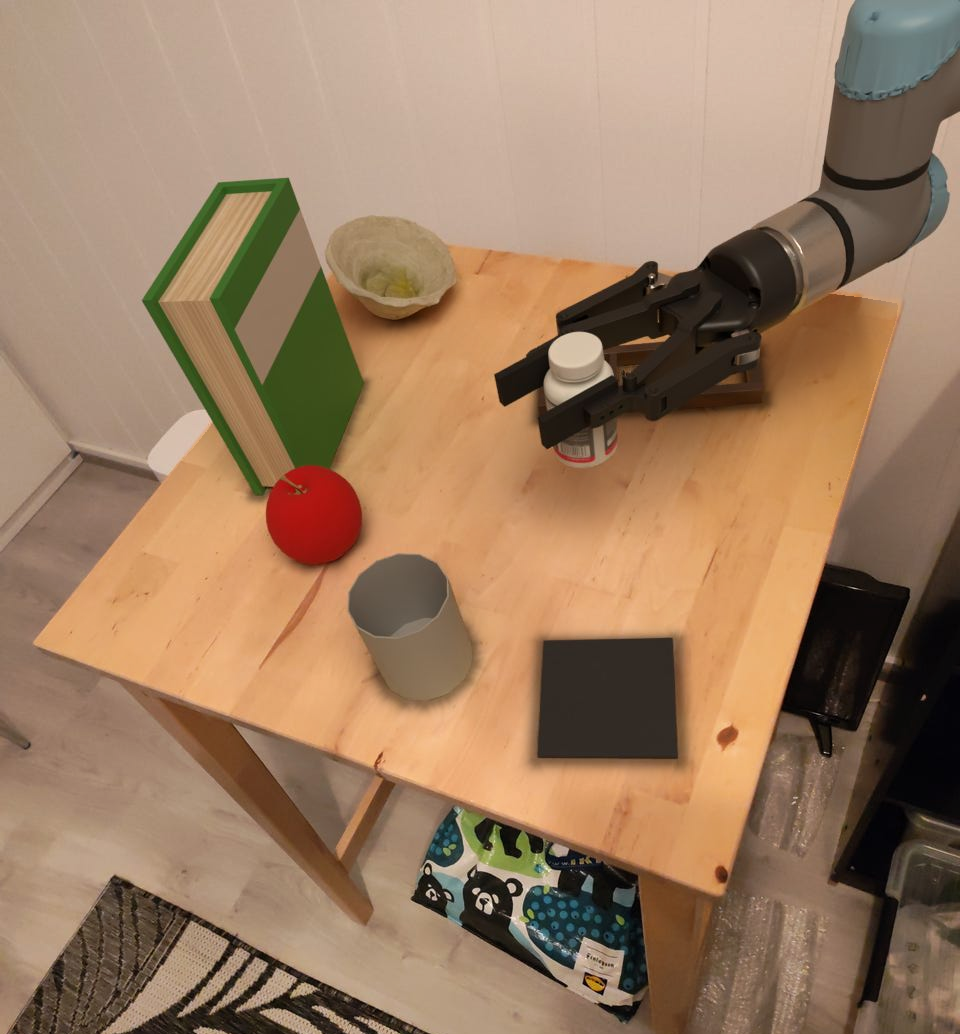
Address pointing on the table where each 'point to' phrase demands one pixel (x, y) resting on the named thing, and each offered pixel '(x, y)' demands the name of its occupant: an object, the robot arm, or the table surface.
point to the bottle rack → (709, 398)
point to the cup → (411, 625)
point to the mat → (608, 699)
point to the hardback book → (258, 330)
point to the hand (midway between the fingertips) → (520, 411)
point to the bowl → (390, 264)
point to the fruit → (313, 514)
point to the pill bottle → (570, 374)
